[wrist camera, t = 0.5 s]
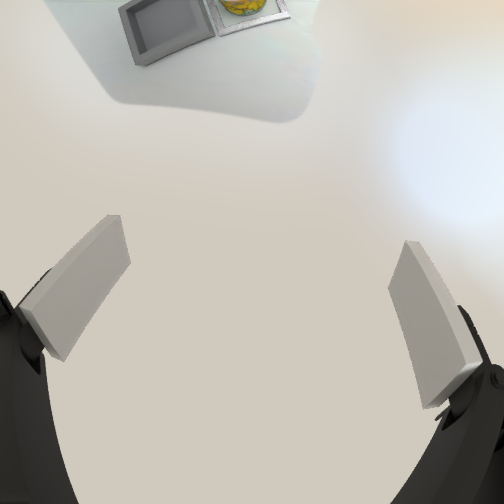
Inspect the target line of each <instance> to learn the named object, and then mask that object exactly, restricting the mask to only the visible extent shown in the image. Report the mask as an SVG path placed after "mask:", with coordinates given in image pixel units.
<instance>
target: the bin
mask: <svg viewBox="0 0 504 504" xmlns="http://www.w3.org/2000/svg"><path fill="white" fill-rule="evenodd" d="M118 11H119V14H120V17H121V21H122V24H123V27H124V31H125V34H126V37H127V40H128V44H129V47H130V50H131V53H132V56H133V59H134V62H135V65H142V66H147V65H149V64H151V63H153V62H155V61H157V60H159V59H161V58H163V57H165V56H168V55H170V54H172V53H174V52H176V51H179V50H181V49H183V48H185V47H188V46H190V45H193V44H195V43H198V42H200V41H203V40H205V39H208V38H211V37H214V36H215V33H214V31H213V28H212V25H211V23H210V20H209V17H208V15H207V12H206V9H205V7H204V4H203V1H202V0H132V1H130V2H128V3H126V4H125V5H123V6H122V7H120V8H118Z"/></svg>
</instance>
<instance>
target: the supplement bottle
mask: <svg viewBox="0 0 504 504" xmlns="http://www.w3.org/2000/svg"><path fill="white" fill-rule="evenodd" d="M219 2H220V3H221V4H222V5H223V6H224V7H225V8H226V9H227V10H228V11H229V12H231V13H233V14H236V15H250V14H253V13H256V12H258V11H259V10H261V9H262V8H263V6H264V5H265V3H266V0H219Z"/></svg>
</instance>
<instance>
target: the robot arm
mask: <svg viewBox="0 0 504 504" xmlns="http://www.w3.org/2000/svg"><path fill="white" fill-rule="evenodd" d="M130 263H131V262H130V258H129V253H128V249H127V245H126V241H125V236H124V232H123V227H122V222H121V218H120V215H107V216H106V217H105V218H104V219H103V220H101V221H100V222H99V223H98V224H97V225H96V226H95V227H94V228H93V229H92V230H91V231H90V232H89V233H87V234H86V235H85V236H84V237H83V238H82V239H81V240H80V241H79V242H78V243H77V244H76V245H75V246H74V247H73V248H72V249H71V250H70V251H69V252H68V253H67V254H66V255H65V256H64V257H63V258H62V259H61V260H60V261H59V262H58V263H57V264H56V265H55V266H54V267H53V268H51V269H50V270H48V271H47V272H46V273H45V274H44V275H43V276H42V277H41V278H40V281H38V282H37V283H36V284H35V286H34V287H32V289H31V290H30V291H29V292H28V293H27V294H26V295H25V297H24V298H23V299H22V300H21V301H20V303H19V304H18V305H17V306H16V307H15V309H14V308H13V307H12V305H11V303H10V301H9V300H8V298H7V296H6V294H5V293H4V291H1V290H0V504H79V503H78V501H77V498H76V496H75V493H74V491H73V488H72V485H71V483H70V480H69V477H68V474H67V471H66V468H65V464H64V461H63V458H62V454H61V451H60V447H59V443H58V439H57V435H56V430H55V426H54V421H53V416H52V411H51V406H50V399H49V392H48V385H47V376H46V367H45V357H44V354H43V353H42V350H43V349H44V347H45V348H46V349H47V351H48V352H49V354H50V355H51V356H52V357H54V358H56V359H58V360H61V361H63V362H64V361H65V360H66V358H67V356H68V355H69V353H70V351H71V350H72V348H73V346H74V345H75V343H76V342H77V340H78V338H79V337H80V335H81V333H82V332H83V330H84V329H85V327H86V326H87V324H88V323H89V321H90V320H91V318H92V317H93V315H94V314H95V312H96V311H97V309H98V308H99V306H100V305H101V303H102V302H103V301H104V299H105V298H106V296H107V295H108V293H109V292H110V290H111V289H112V288H113V286H114V285H115V284H116V282H117V281H118V279H119V278H120V277H121V275H122V274H123V273H124V271H125V270H126V269H127V267H128V266H129V265H130ZM388 289H389V292H390V295H391V298H392V301H393V304H394V307H395V310H396V312H397V315H398V318H399V321H400V324H401V328H402V331H403V334H404V337H405V340H406V344H407V347H408V351H409V354H410V358H411V361H412V365H413V369H414V372H415V377H416V380H417V384H418V389H419V393H420V398H421V402H422V407H423V409H428V408H434V407H439V406H440V405H442V404H443V402H445V401H446V400H447V399H449V402H450V405H449V406H448V407H447V408H446V409H445V410H444V411H443V412H441V413H440V414H439V415H438V416H437V417H436V419H435V421H437V420H438V419H440V418H441V417H442V416H443V417H442V419H441V421H440V423H439V425H438V427H437V429H436V431H435V434H434V435H433V437H432V439H431V441H430V443H429V445H428V446H427V448H426V450H425V452H424V454H423V455H422V457H421V459H420V460H419V462H418V464H417V465H416V467H415V469H414V470H413V472H412V474H411V475H410V477H409V478H408V480H407V481H406V483H405V484H404V486H403V487H402V488H401V490H400V491H399V493H398V494H397V495H396V497H395V498H394V499H393V501H392V502H391V503H390V504H504V369H503V368H502V367H501V366H499V365H496V364H491V361H490V359H489V357H488V354H487V352H486V350H485V348H484V345H483V343H482V341H481V339H480V337H479V335H477V330H476V328H475V327H474V326H473V325H474V324H473V322H472V320H471V318H470V316H469V314H468V313H467V312H466V311H465V310H464V309H463V308H462V307H461V306H460V305H456V303H455V301H454V299H453V297H452V295H451V294H450V292H449V290H448V288H447V286H446V285H445V283H444V281H443V279H442V278H441V276H440V274H439V273H438V271H437V269H436V268H435V266H434V264H433V263H432V261H431V260H430V258H429V257H428V255H427V253H426V252H425V250H424V249H423V247H422V246H421V244H420V243H419V242H414V241H405V243H404V246H403V249H402V252H401V255H400V258H399V260H398V263H397V266H396V269H395V271H394V274H393V277H392V279H391V282H390V285H389V287H388Z"/></svg>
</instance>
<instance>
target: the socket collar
mask: <svg viewBox="0 0 504 504" xmlns="http://www.w3.org/2000/svg"><path fill="white" fill-rule="evenodd" d="M276 1H277V3H278V6H279V8H280V11H281V13H277V14H273V15H268V16H264V17H260V18H257V19H253V20H249V21H246V22H242V23H239V24H236V25H232V26H229V27H226V28H224V25H223V23H222V20H221V17H220V15H219V12H218V10H217V7H216V4H215V2H214V0H206V2H207V4H208V7H209V9H210V12H211V15H212V17H213V20H214V23H215V25H216V28H217V31H218V33H219V36H220V37H222V36H225V35H228V34H231V33H234V32H237V31H240V30H244V29H247V28H251V27H254V26H258V25H262V24H266V23H270V22H274V21H279V20H283V19H288V18H290V14H289V12H288V9H287V7H286V4H285V2H284V0H276Z"/></svg>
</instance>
